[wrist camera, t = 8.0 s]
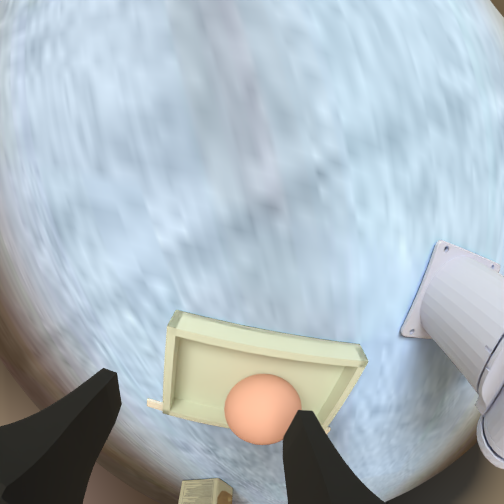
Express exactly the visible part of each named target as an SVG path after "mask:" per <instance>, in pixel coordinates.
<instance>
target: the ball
mask: <svg viewBox="0 0 504 504" xmlns="http://www.w3.org/2000/svg"><path fill="white" fill-rule="evenodd" d="M298 410H302V406H301V400H300V397H299V395H298V393H297V391H296V390H295V389H294V387H293V386H292V385H291V384H290V383H289V382H287V381H286V380H284V379H283V378H281V377H278V376H275V375H271V374H256V375H252V376H249V377H246V378H244V379H242V380H241V381H239V382H238V383H237V384H236V385H235V386H234V387H233V388H232V389H231V390H230V392H229V394H228V395H227V398H226V401H225V407H224V413H225V418H226V421H227V424H228V426H229V427H230V429H231V430H232V431H233V432H234V434H235V435H237V436H238V437H239V438H241V439H242V440H244V441H246V442H249V443H252V444H257V445H268V444H273V443H276V442H279V441H281V440H283V437H284V435H285V433H286V431H287V429H288V428H289V426H290V424H291V422H292V420H293V418H294V416H295V415H296V413H297V411H298Z"/></svg>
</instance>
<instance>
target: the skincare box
mask: <svg viewBox="0 0 504 504" xmlns="http://www.w3.org/2000/svg"><path fill="white" fill-rule="evenodd" d="M232 493H233V488H232V487H231V486H229V485H228V484H226V483H225V482H223V481H222V480H220V479H219V478H213V479H202V480H187V481H182V486H181V492H180V497H179V503H178V504H232Z"/></svg>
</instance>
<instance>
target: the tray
mask: <svg viewBox="0 0 504 504" xmlns="http://www.w3.org/2000/svg"><path fill="white" fill-rule="evenodd" d="M367 363H368V359H367V357H366V355H365V354H364V352H363V350H362V348H361V346H360V344H354V343H346V342H338V341H331V340H324V339H317V338H310V337H304V336H298V335H292V334H286V333H280V332H275V331H270V330H264V329H259V328H254V327H249V326H244V325H239V324H235V323H230V322H225V321H221V320H217V319H212V318H208V317H204V316H199V315H195V314H191V313H187V312H183V311H179V310H176V311H175V312H174V314H173V316H172V318H171V320H170V322H169V324H168V326H167V335H166V348H165V363H164V382H163V413H164V414H167V415H171V416H175V417H179V418H183V419H187V420H191V421H195V422H199V423H204V424H209V425H214V426H219V427H225V428H230V427H229V426H228V424H227V421H226V418H225V413H224V407H225V401H226V398H227V395H228V394H229V392H230V390H231V389H232V388H233V387H234V386H235V385H236V384H237V383H238V382H239V381H241V380H242V379H244V378H246V377H249V376H252V375H256V374H271V375H275V376H278V377H281V378H283V379H284V380H286V381H287V382H289V383H290V384H291V385H292V386H293V387H294V389H295V390H296V391H297V393H298V395H299V397H300V400H301V406H302V410H309V411H313V412H314V414H315V415H316V417H317V419H318V421H319V422H320V424H321V426H322V428H323V429H324V431H325V429H326V428H327V427H328V425H329V424H330V422H331V421H332V420H333V418H334V417H335V415H336V414H337V412H338V411H339V409H340V408H341V406H342V405H343V403H344V402H345V400H346V399H347V397H348V395H349V394H350V392H351V391H352V389H353V387H354V386H355V384H356V382H357V381H358V379H359V377H360V376H361V374H362V372H363V370H364V369H365V367H366V365H367Z"/></svg>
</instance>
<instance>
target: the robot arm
mask: <svg viewBox="0 0 504 504" xmlns="http://www.w3.org/2000/svg"><path fill="white" fill-rule="evenodd" d="M445 247H446V249H445V251H444V248H445ZM499 271H500V265H499V264H498V263H496V262H493V261H491V260H489V259H487V258H484V257H482V256H480V255H477V254H475V253H473V252H470V251H468V250H465V249H463V248H461V247H458V246H456V245H453V244H451V243H448V242H446V241H443V240H439V241H438V242H437V243H436V245H435V248H434V251H433V254H432V256H431V259H430V262H429V265H428V268H427V270H426V273H425V276H424V278H423V281H422V283H421V286H420V288H419V291H418V293H417V295H416V298H415V300H414V302H413V304H412V307H411V309H410V311H409V313H408V315H407V318H406V320H405V322H404V324H403V326H402V328H401V334H402V335H403V336H406V337H415V338H426V339H433V340H434V341H435V342H436V343H437V344H438V345H439V347H440V348H441V349H442V350H443V351H444V352H445V354H446V355H447V356H448V357H449V358H450V360H451V361H452V362H453V363H454V364H455V366H456V367H457V368H458V369H459V370H460V372H461V373H462V374H463V375H464V377H465V378H466V379H467V380H468V382H469V383H470V384H471V386H472V387H473V388H474V389H475V391H476V392H477V393H478V395H479V397H478V399H477V401H476V403H475V406H476V407H477V409H478V410H479V412H480V413H481V416H480V419H479V421H478V425H477V440H478V443H479V446H480V449H481V451H482V453H483V454H484V456H485V457H486V458H487V459H488V460H489V462H491V463H492V464H493V465H495V466H497V467H499V468H502V469H504V276H503V275H501V274H499ZM411 330H412V331H411ZM410 331H411V332H410ZM121 405H122V403H121V397H120V391H119V384H118V377H117V373H116V372H113V371H110V370H108V369H105V368H103V369H101V370H100V371H99V372H97V373H96V374H95V375H93V376H92V377H91V378H90V379H88V380H87V381H86V382H84V383H83V384H82V385H80V386H79V387H78V388H76V389H75V390H73V391H72V392H70V393H69V394H68V395H66V396H65V397H63V398H62V399H60V400H58V401H57V402H55V403H54V404H52V405H50V406H49V407H47V408H45V409H43V410H41V411H40V412H38V413H36V414H33V415H31V416H29V417H27V418H24V419H22V420H19V421H17V422H14V423H11V424H8V425H4V426H1V427H0V504H83V499H84V495H85V492H86V488H87V484H88V481H89V478H90V475H91V472H92V469H93V466H94V464H95V462H96V460H97V458H98V456H99V454H100V452H101V450H102V448H103V446H104V444H105V442H106V440H107V438H108V436H109V434H110V432H111V430H112V428H113V426H114V424H115V421H116V419H117V416H118V413H119V410H120V407H121ZM283 463H284V472H285V481H286V489H287V497H288V504H386V503H385V502H383V501H382V500H381V499H380V498H378V497H377V496H376V495H375V494H374V493H373V492H371V491H370V490H369V489H368V488H367V487H366V486H365V485H364V484H363V483H362V482H361V481H360V480H359V478H358V477H357V476H356V475H355V474H354V473H353V471H352V470H351V469H350V468H349V466H348V465H347V464H346V463H345V461H344V460H343V459H342V457H341V456H340V454H339V453H338V451H337V450H336V448H335V447H334V445H333V444H332V442H331V441H330V439H329V438H328V436H327V434H326V433H325V431H324V429H323V428H322V426H321V424H320V422H319V421H318V419H317V417H316V415H315V414H314V412H313V411H309V410H298V411H297V413H296V415H295V416H294V418H293V420H292V422H291V424H290V426H289V428H288V429H287V431H286V433H285V435H284V437H283Z"/></svg>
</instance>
